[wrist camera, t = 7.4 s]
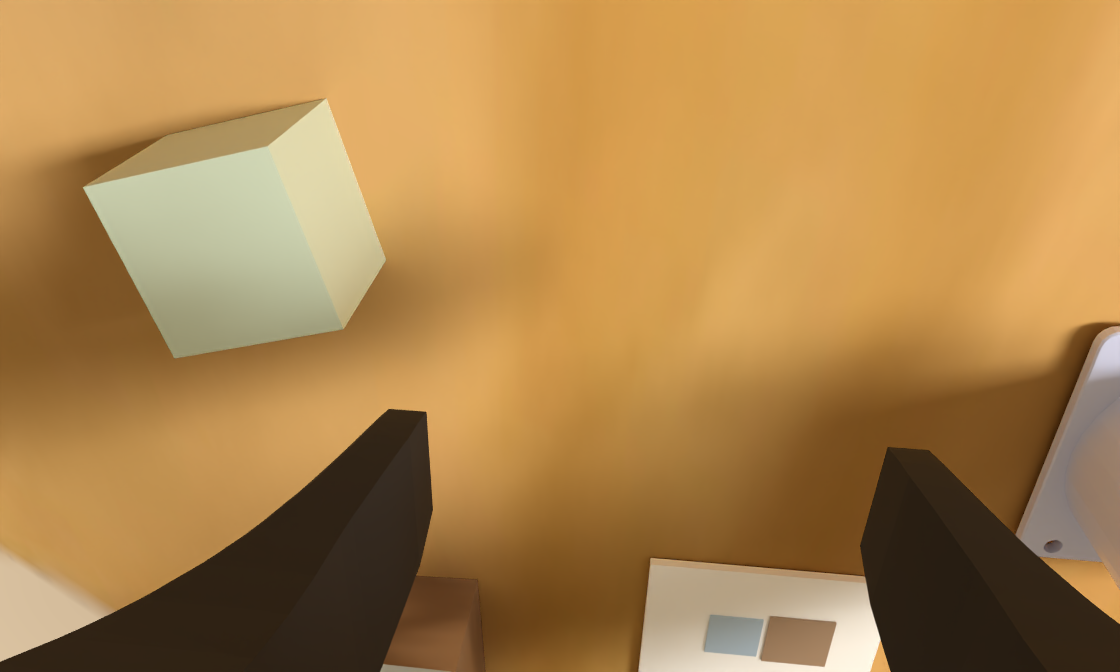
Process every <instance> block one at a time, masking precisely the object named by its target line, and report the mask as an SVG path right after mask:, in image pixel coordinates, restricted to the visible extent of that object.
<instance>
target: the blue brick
mask: <svg viewBox="0 0 1120 672" xmlns="http://www.w3.org/2000/svg"><path fill="white" fill-rule="evenodd" d="M380 672H451V671H442V670H433V669H423V668H414V667H404V666H395V665H386V664H383V666H382V668H381V671H380Z"/></svg>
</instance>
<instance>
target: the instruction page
mask: <svg viewBox="0 0 1120 672" xmlns="http://www.w3.org/2000/svg"><path fill="white" fill-rule="evenodd" d="M879 642H880V636H879V632H878V629H877V626H876V623H875V619H874V616H873V613H872V609H871V606H870V601H869V595H868V590H867V584H866V579H865V576H854V575H843V574H831V573H820V572H808V571H796V570H785V569H773V568H762V567H750V566H739V565H727V564H716V563H704V562H692V561H681V560H669V559H658V558H651V560H650V569H649V578H648V587H647V596H646V605H645V614H644V623H643V632H642V641H641V650H640V659H639V668H638V672H870V670H871V667H872V664H873V661H874V658H875V655H876V651H877V648H878V645H879Z"/></svg>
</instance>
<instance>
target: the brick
mask: <svg viewBox="0 0 1120 672" xmlns="http://www.w3.org/2000/svg"><path fill="white" fill-rule="evenodd" d="M83 189H84V190H85V192H86V194H87V196H88V198H89V200H90V202H91V203H92V205H93V207H94V209H95V211H96V213H97V215H98V217H99V218H100V220H101V222H102V224H103V226H104V228H105V230H106V232H107V233H108V235H109V237H110V239H111V241H112V243H113V245H114V246H115V248H116V250H117V252H118V254H119V256H120V258H121V260H122V261H123V263H124V265H125V267H126V269H127V271H128V273H129V275H130V276H131V278H132V280H133V282H134V284H135V286H136V288H137V289H138V291H139V293H140V295H141V297H142V299H143V301H144V303H145V304H146V306H147V308H148V310H149V312H150V314H151V316H152V318H153V319H154V321H155V323H156V325H157V327H158V329H159V331H160V332H161V334H162V336H163V338H164V340H165V342H166V344H167V346H168V347H169V349H170V351H171V353H172V355H173V357H174V359H175V358H181V357H186V356H192V355H198V354H204V353H210V352H215V351H221V350H227V349H233V348H238V347H244V346H250V345H256V344H262V343H267V342H273V341H279V340H285V339H291V338H296V337H302V336H308V335H314V334H319V333H325V332H331V331H337V330H343V329H344V328H345V326H346V324H347V323H348V321H349V320H350V318H351V316H352V315H353V313H354V312H355V310H356V308H357V307H358V305H359V303H360V302H361V300H362V299H363V297H364V295H365V294H366V292H367V290H368V289H369V287H370V286H371V284H372V282H373V281H374V279H375V277H376V276H377V274H378V273H379V271H380V269H381V268H382V266H383V264H384V263H385V261H386V258H385V256H384V253H383V250H382V248H381V245H380V242H379V239H378V237H377V234H376V231H375V229H374V226H373V223H372V220H371V218H370V215H369V212H368V210H367V207H366V204H365V202H364V199H363V196H362V193H361V191H360V188H359V185H358V183H357V180H356V177H355V174H354V172H353V169H352V166H351V164H350V161H349V158H348V155H347V153H346V150H345V147H344V145H343V142H342V139H341V137H340V134H339V131H338V128H337V126H336V123H335V120H334V118H333V115H332V112H331V109H330V107H329V104H328V101H327V99H321V100H317V101H313V102H308V103H304V104H299V105H295V106H291V107H286V108H282V109H278V110H273V111H269V112H265V113H260V114H256V115H252V116H247V117H243V118H239V119H234V120H230V121H226V122H221V123H217V124H212V125H208V126H204V127H199V128H195V129H191V130H186V131H182V132H178V133H173V134H169V135H166V136H164V137H163V138H161V139H160V140H158V141H156V142H155V143H153V144H152V145H150V146H148V147H147V148H145V149H144V150H142V151H140V152H139V153H137V154H136V155H134V156H132V157H131V158H129V159H128V160H126V161H124V162H123V163H121V164H119V165H118V166H116V167H115V168H113V169H111V170H110V171H108V172H107V173H105V174H103V175H102V176H100V177H99V178H97V179H95V180H94V181H92V182H91V183H89V184H87V185H86V186H84V187H83Z"/></svg>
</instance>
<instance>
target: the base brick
mask: <svg viewBox="0 0 1120 672" xmlns="http://www.w3.org/2000/svg"><path fill="white" fill-rule="evenodd" d="M383 664H386V665H395V666H404V667H414V668H423V669H433V670H442V671H451V672H486V670H485V659H484V647H483V636H482V625H481V614H480V602H479V591H478V580H477V579H460V578H443V577H427V576H416V577H415V580H414V583H413V585H412V588H411V591H410V594H409V596H408V599H407V602H406V604H405V607H404V610H403V612H402V615H401V618H400V620H399V623H398V626H397V628H396V631H395V634H394V636H393V639H392V642H391V644H390V647H389V650H388V652H387V655H386V658H385V660H384V663H383Z"/></svg>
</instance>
